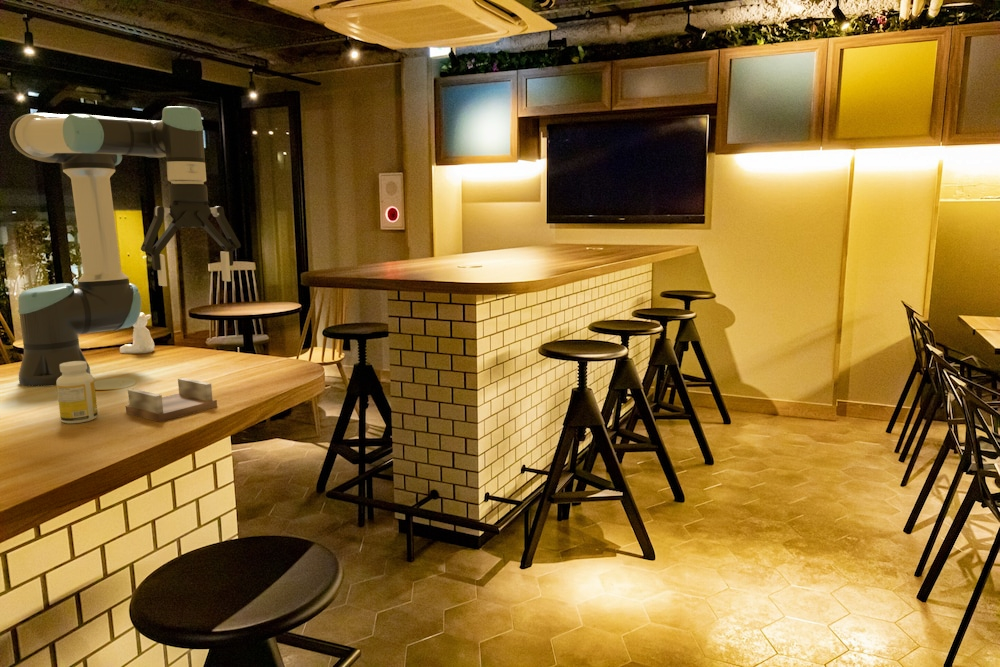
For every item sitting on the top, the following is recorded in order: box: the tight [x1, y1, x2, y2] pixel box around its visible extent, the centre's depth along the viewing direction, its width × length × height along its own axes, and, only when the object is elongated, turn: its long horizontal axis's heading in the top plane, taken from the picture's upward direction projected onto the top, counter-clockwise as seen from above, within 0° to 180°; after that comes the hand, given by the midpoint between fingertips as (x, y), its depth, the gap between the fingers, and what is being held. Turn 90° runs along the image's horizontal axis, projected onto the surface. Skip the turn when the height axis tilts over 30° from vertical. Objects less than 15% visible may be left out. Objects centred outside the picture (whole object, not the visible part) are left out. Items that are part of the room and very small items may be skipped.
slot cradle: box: [124, 377, 218, 423], centre depth 149 cm, size 12×13×5 cm
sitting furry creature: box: [119, 311, 155, 354], centre depth 211 cm, size 10×9×12 cm
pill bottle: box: [55, 360, 99, 425], centre depth 142 cm, size 6×6×12 cm
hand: (195, 283), depth 154 cm, fingers open, 13 cm apart
